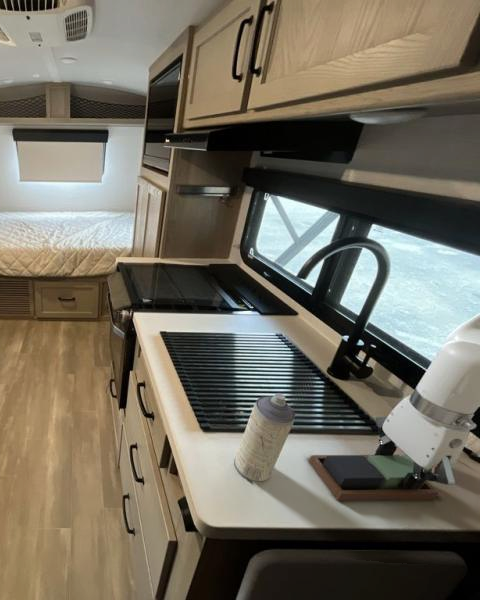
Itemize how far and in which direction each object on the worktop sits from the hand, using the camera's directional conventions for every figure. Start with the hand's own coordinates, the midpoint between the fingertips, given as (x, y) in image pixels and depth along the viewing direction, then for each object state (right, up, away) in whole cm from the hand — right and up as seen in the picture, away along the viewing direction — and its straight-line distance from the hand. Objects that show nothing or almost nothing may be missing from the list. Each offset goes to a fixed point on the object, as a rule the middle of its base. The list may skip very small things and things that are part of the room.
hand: (393, 472), depth 67 cm
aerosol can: (-28, -1, +3) cm, 28 cm away
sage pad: (0, -2, +1) cm, 2 cm away
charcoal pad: (-9, -2, 0) cm, 9 cm away
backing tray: (-5, -2, +1) cm, 5 cm away
